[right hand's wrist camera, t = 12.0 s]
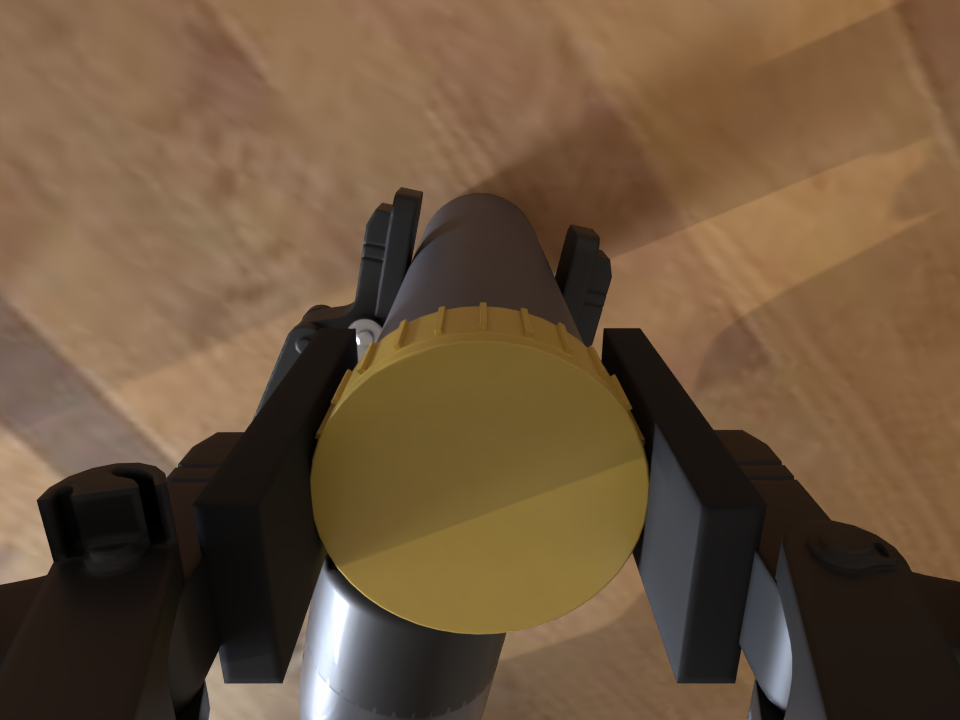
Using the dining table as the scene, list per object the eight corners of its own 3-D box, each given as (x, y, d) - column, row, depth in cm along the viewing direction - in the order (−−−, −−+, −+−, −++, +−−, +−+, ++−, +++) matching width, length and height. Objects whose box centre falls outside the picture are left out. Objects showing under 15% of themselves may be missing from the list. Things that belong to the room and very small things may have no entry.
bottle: (519, 320, 28) (576, 631, 12) (410, 292, 28) (304, 572, 11) (552, 211, 27) (675, 388, 10) (437, 179, 26) (361, 308, 10)
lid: (597, 586, 13) (613, 655, 11) (318, 552, 13) (295, 619, 11) (664, 326, 11) (695, 364, 9) (339, 279, 11) (314, 310, 9)
